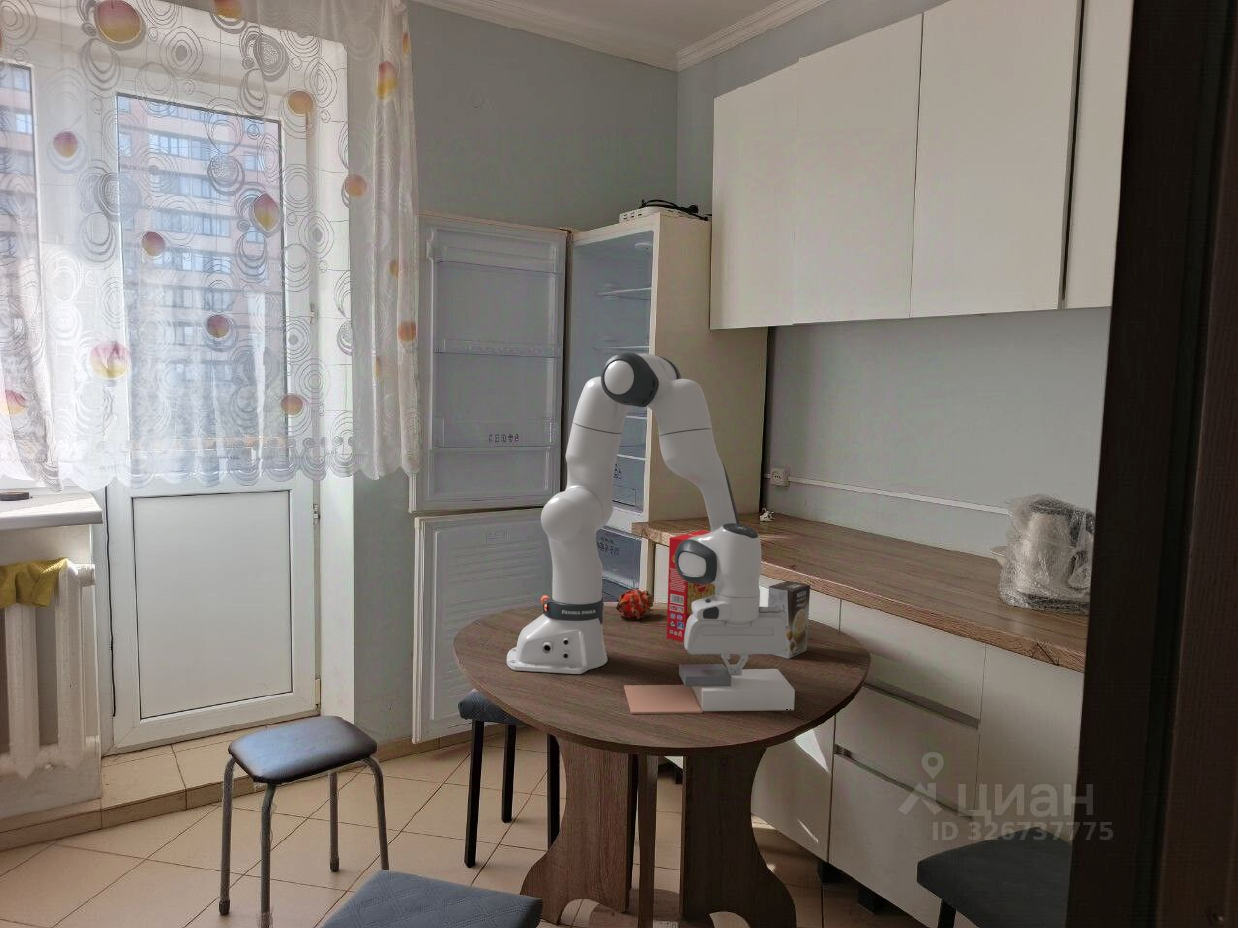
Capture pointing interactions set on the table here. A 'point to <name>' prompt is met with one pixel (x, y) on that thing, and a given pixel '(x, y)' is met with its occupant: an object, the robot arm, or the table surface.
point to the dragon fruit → (634, 604)
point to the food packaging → (682, 592)
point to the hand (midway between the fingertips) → (733, 674)
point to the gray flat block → (704, 675)
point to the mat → (661, 699)
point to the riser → (748, 692)
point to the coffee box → (792, 614)
